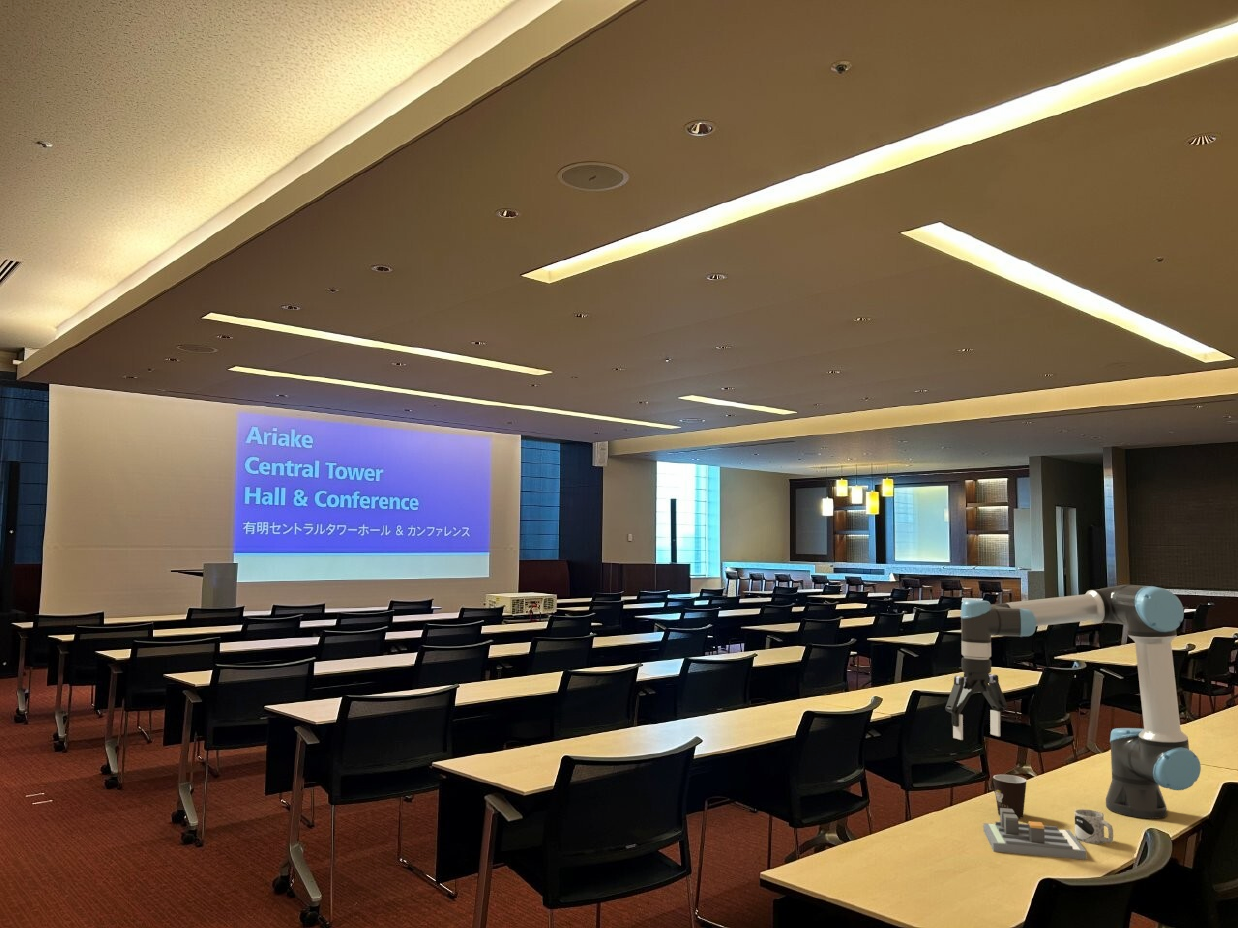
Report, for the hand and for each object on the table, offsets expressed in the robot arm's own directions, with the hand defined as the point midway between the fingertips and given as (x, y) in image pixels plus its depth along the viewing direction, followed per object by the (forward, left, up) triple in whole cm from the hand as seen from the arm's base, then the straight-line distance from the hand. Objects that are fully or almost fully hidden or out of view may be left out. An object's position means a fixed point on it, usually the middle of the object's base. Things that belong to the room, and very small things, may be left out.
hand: (976, 736), depth 240 cm
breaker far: (-6, +6, -22) cm, 23 cm away
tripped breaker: (-11, +16, -22) cm, 29 cm away
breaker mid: (-6, +11, -22) cm, 25 cm away
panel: (-11, +11, -24) cm, 28 cm away
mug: (-28, +4, -24) cm, 37 cm away
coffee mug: (-10, -15, -24) cm, 30 cm away
